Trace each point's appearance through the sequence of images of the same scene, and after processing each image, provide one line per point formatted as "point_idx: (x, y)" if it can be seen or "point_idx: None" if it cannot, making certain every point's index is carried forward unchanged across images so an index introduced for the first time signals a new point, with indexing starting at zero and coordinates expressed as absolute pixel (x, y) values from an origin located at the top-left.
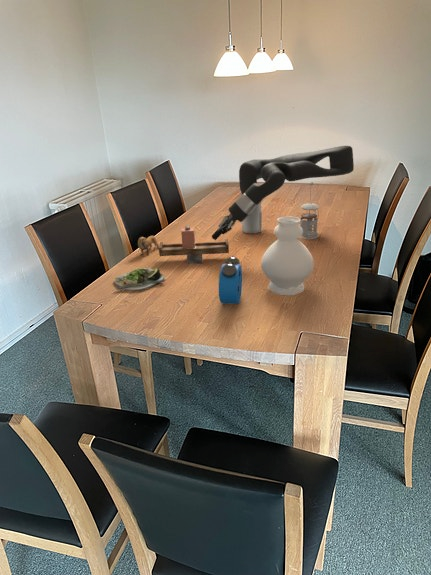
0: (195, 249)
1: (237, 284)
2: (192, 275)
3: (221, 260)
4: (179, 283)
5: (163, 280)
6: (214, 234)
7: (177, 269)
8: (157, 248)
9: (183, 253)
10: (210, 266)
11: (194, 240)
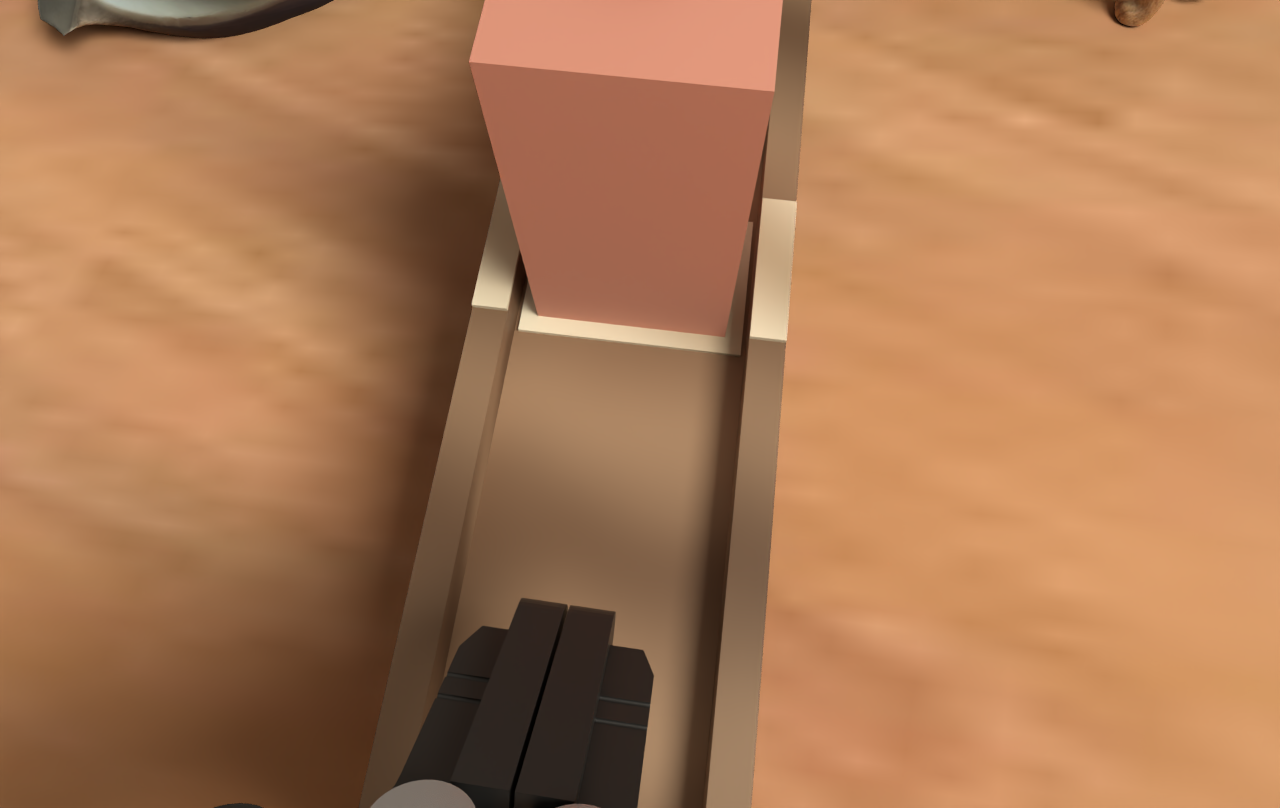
0: (475, 306)
1: None
2: (166, 321)
3: None
4: (21, 175)
5: (54, 8)
6: (498, 674)
7: (412, 180)
8: (1118, 5)
9: None
10: (358, 581)
11: (526, 224)
